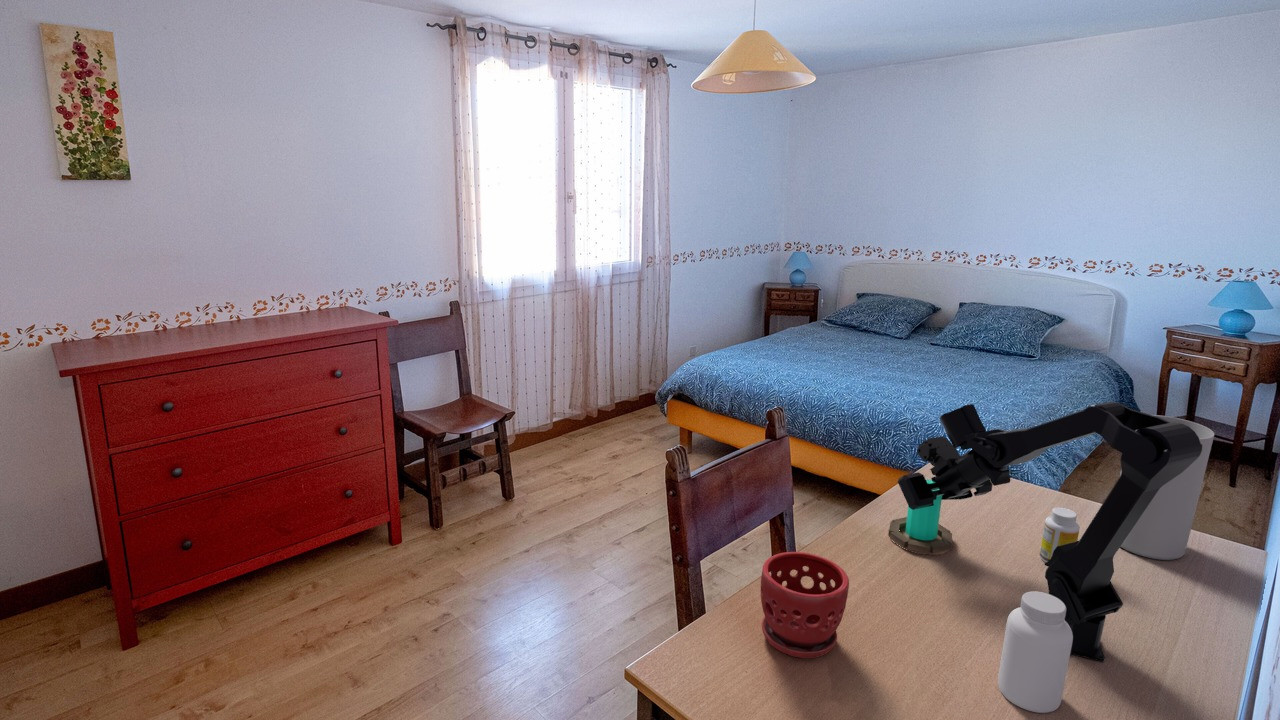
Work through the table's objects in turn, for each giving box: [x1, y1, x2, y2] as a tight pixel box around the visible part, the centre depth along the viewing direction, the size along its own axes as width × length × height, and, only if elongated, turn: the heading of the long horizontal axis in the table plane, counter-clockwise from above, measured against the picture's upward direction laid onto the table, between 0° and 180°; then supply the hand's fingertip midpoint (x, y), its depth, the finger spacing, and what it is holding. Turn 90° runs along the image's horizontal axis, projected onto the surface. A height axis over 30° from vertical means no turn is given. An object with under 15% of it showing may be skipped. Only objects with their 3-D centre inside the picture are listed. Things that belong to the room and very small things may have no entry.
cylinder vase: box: [1119, 414, 1215, 561], centre depth 134 cm, size 12×12×25 cm
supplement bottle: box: [1039, 507, 1081, 563], centre depth 130 cm, size 6×6×10 cm
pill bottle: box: [997, 590, 1073, 714], centre depth 96 cm, size 8×8×15 cm
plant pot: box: [760, 551, 850, 659], centre depth 108 cm, size 13×13×12 cm
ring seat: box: [887, 516, 953, 556], centre depth 139 cm, size 12×12×2 cm
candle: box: [906, 477, 943, 541], centre depth 137 cm, size 6×6×12 cm
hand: (919, 499), depth 138 cm, fingers closed on candle, 5 cm apart
